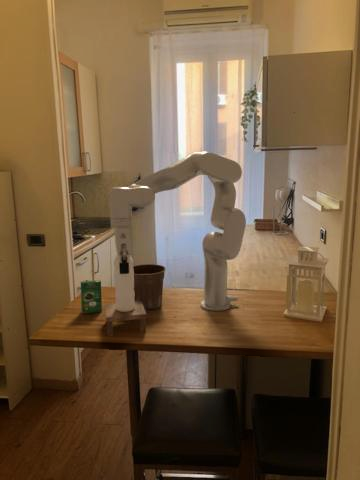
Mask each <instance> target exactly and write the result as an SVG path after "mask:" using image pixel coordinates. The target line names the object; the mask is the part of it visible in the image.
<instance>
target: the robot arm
mask: <svg viewBox="0 0 360 480" xmlns="http://www.w3.org/2000/svg"><path fill="white" fill-rule="evenodd" d="M242 174H243V171H242V167H241V165H240V164H239V163H238V162H237V161H235V160H233V159H230V158H228V157H224V156H222V155H219V154H216V153H214V152H210V151H195V152H192V153H190V154H188V155H186V156H185V157H183V158H181V159H179V160H177V161H175V162H174V163H172V164H170V165H169V166H167V167H165V168H162V169H159V170H158V171H156V172H153V173H151V174H149V175H147V176H144V177H142V178H141V179H138V180H137V181H135V182H133V183H132V184H130V185H128V186H113V187H111V188H110V189H109V213H110V215H109V217H110V227H111V228H112V229H114V244H115V250H116V255H117V254H118V255H119V256H120V263H119V265H120V274H128V273H129V262H128V254H129V255H131V256H132V253H133V252H132V240H131V228H132V227H133V210H132V209H133V208H148V207H151V205H153V204H154V202H155V201H156V200H155V199H156V194H158V193H161V192H164V191H165V192H166V191H172V190H175V189H178V188H180V187H181V186H184V185H185V184H187V183H188V182H190V181H191V180H193V179H195V178H197V177H198V176H207V178H208V179H209V181H210V183H212V186H213V188H214V201H213V205H212V209H211V216H210V224H211V225H212V227H214V228H216V229H218V230H221V231H222V232H219V231H210V232H209V233H207V234H205V236H204V237H203V239H202V245H201V246H202V252H203V259H204V271H203V272H204V278H203V279H204V281H203V282H204V286H203V287H204V290H203V292H204V296H203V297H204V299H203V300H201V302H200V307H201V308H203V309H204V310H207V311H210V312H211V311H213V312H223V311H226V310H229V309H230V308H231V302H238V301H239V297H238V296H236V295H235V296H233V294H232V295H228V261H230V260H235V258H237V257H238V255H239V254H240V252H241V249H242V244H243V241H244V235H245V231H246V226H247V225H246V224H247V221H246V220H247V219H246V214H244V211H243V210H241V209H239V208H236V207H235V206H236V199H237V198H236V197H237V189H236V187H235V183H237V182H238V181H239V180H240V179H241V178H242ZM121 246H122V249H121ZM127 252H128V253H127ZM121 253H122V254H121ZM121 257H122V258H121Z"/></svg>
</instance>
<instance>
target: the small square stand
mask: <svg viewBox="0 0 360 480" xmlns="http://www.w3.org/2000/svg"><path fill="white" fill-rule="evenodd" d="M104 311H105V320H106V321H105V322H106V323H107V324H106V325H107V328H106V329H107V336H108V337H110V336H109V335H113V336H114V325H113V324H114V323H113V322H120V321H121V322H122V321H130V320H131V321H132V320H137V321H139V330H140V333H146V331H147V329H146V327H147V324H146V322H147V321H146V320H147V312H146V310H145V309H144V306H143V304H142V301H135V308H134V309H133V310H132V311H129V312H120V311H118V310H116V302H109V303H108V302H107V303H104Z"/></svg>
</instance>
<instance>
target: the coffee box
mask: <svg viewBox="0 0 360 480" xmlns="http://www.w3.org/2000/svg"><path fill="white" fill-rule="evenodd" d="M80 299H81V301H80V302H81V306H80V307H81V313H82V315H85V314H93V313H94V314H95V313H101V312H102V311H103V310H102V309H103V308H102V307H103V305H102V281H101V279H97V280H95V279H94V280H84V281H80Z"/></svg>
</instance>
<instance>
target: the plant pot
mask: <svg viewBox="0 0 360 480" xmlns="http://www.w3.org/2000/svg"><path fill="white" fill-rule="evenodd" d="M133 269H134V293H135V296H134V300H135V301H142V304H143V306H144V309H145V311H149V310H150V309H152V310H156V309H158V308H160V307H161V306H162V304H163V291H164V290H163V289H164V279H165V272H166V267H165V266H164V265H161V264H155V263H149V264H148V263H147V264H136V265H133Z"/></svg>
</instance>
